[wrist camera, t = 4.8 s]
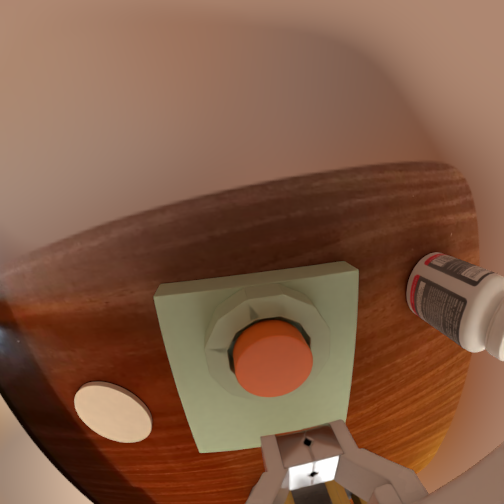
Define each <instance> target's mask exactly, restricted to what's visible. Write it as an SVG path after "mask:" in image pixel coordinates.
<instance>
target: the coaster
mask: <svg viewBox="0 0 504 504" xmlns="http://www.w3.org/2000/svg"><path fill="white" fill-rule="evenodd" d="M74 404H75V408H76V411H77V413H78V415H79V416H80V418H81V419H82V420H83V422H84V423H85V424H86V425H87V426H88V427H90V428H91V429H92V430H93V431H95V432H96V433H98V434H100V435H102V436H104V437H106V438H108V439H111V440H114V441H118V442H125V443H131V442H138V441H141V440H143V439H145V438H146V437H147V436H148V435H149V434H150V432H151V429H152V422H153V421H152V416H151V413H150V411H149V409H148V408H147V406H146V405H145V404H144V403H143V402H142V401H141V400H140V399H139V398H138V397H137V396H135V395H134V394H133V393H131V392H130V391H128V390H126V389H124V388H122V387H120V386H117V385H115V384H111V383H107V382H99V381H96V382H89V383H86V384H84V385H82V386H81V387H80V388H79V390H78V391H77V393H76V395H75V399H74Z"/></svg>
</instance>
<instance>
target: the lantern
mask: <svg viewBox="0 0 504 504" xmlns="http://www.w3.org/2000/svg"><path fill="white" fill-rule="evenodd" d="M256 485H257V484H256ZM256 485H255V486H256ZM255 486H254V487H253V488H252V490H251V493H252V491H253V490H254V488H255ZM251 493H250V495H251ZM250 495H249V496H250ZM351 498H352V500H353V502H354V504H367V502H366V501H364V500H363V499H361V498H360V497H358V496H356V495H355V494H353V493H352V492H350V491H349V490H347V489H346V488H344V487H343V486H341V485H340V484H338V483H337V482H335V481H334V480H332V481H328V482H324V483H320V484H315V485H311V486H307V487H303V488H299V489H295V490H291V491H289V494H288V496H287V498H286V501H285V503H284V504H351V503H350V501H349V499H351Z"/></svg>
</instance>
